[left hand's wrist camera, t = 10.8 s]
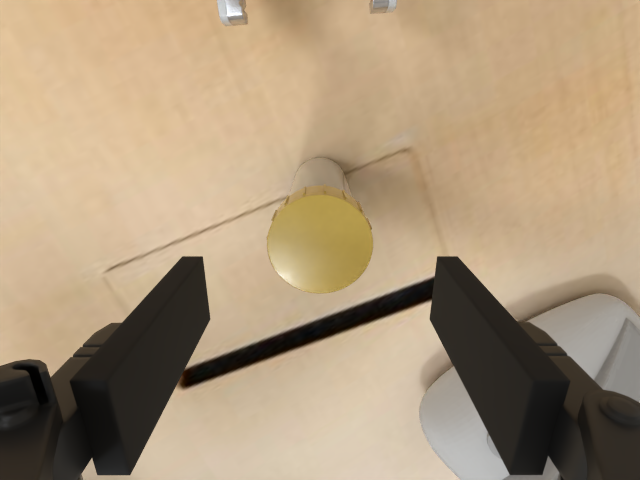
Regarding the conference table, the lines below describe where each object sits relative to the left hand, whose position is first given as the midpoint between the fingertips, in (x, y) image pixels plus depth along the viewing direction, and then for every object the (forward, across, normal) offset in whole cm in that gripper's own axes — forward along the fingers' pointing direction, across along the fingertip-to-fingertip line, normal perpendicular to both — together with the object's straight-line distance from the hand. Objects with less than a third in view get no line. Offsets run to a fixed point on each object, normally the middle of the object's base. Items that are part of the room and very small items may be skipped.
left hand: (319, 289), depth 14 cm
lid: (+5, 0, 0) cm, 5 cm away
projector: (+20, +22, -20) cm, 36 cm away
